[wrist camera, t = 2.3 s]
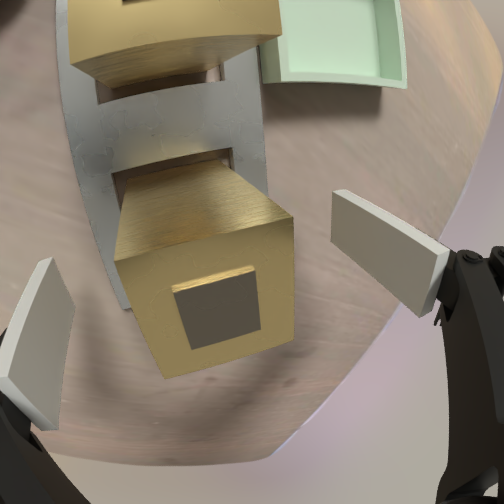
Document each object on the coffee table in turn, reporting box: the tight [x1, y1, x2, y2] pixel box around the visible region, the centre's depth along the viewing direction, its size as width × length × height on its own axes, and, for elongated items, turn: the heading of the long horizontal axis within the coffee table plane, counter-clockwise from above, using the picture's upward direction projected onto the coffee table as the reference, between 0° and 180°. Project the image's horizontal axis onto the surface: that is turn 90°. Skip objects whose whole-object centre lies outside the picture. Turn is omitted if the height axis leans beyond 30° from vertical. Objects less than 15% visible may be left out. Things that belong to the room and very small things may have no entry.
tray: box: [259, 0, 407, 89], centre depth 12 cm, size 9×9×2 cm
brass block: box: [114, 159, 294, 379], centre depth 13 cm, size 5×5×9 cm
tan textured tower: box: [68, 0, 282, 89], centre depth 7 cm, size 5×5×9 cm
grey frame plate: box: [56, 0, 268, 310], centre depth 13 cm, size 10×20×1 cm, turn 5°
